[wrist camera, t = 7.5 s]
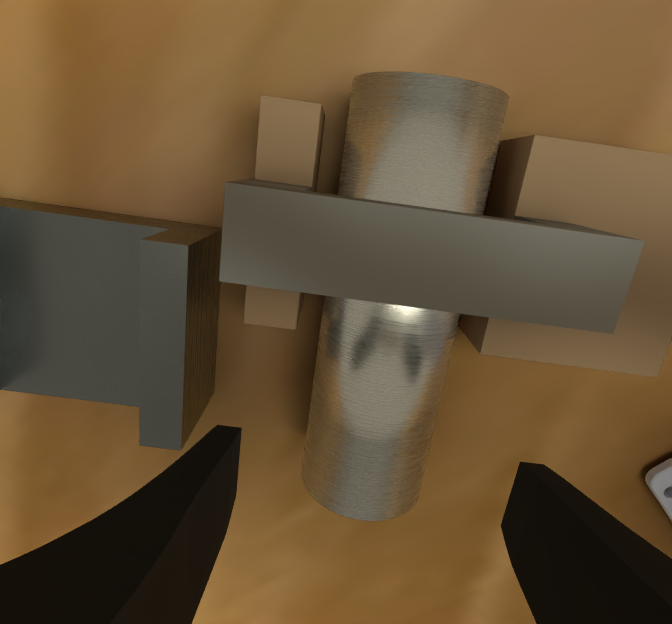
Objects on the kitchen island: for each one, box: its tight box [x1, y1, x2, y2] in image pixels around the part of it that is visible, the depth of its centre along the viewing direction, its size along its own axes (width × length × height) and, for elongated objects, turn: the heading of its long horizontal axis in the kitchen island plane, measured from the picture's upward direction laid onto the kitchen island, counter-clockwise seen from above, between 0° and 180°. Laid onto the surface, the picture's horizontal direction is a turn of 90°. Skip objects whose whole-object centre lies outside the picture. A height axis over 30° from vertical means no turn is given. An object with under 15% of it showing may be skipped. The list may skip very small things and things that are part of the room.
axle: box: [302, 72, 509, 521], centre depth 14 cm, size 12×4×4 cm, turn 172°
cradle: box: [0, 198, 222, 450], centre depth 14 cm, size 6×8×4 cm
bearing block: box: [219, 95, 672, 377], centre depth 12 cm, size 6×12×6 cm, turn 82°
